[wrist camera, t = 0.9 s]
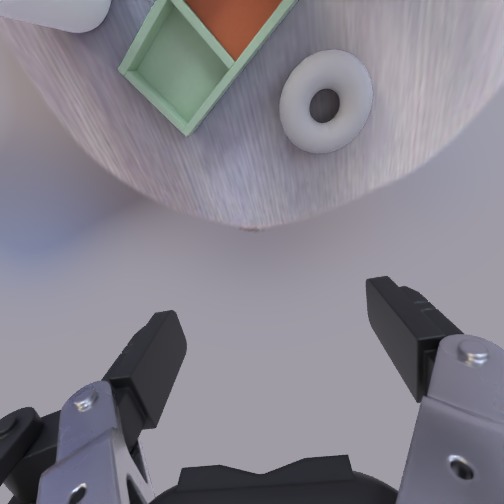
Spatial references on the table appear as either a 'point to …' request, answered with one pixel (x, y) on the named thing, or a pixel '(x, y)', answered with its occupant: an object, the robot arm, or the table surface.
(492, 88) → the table surface
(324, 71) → the donut
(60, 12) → the wine bottle
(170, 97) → the tray
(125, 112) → the table surface
